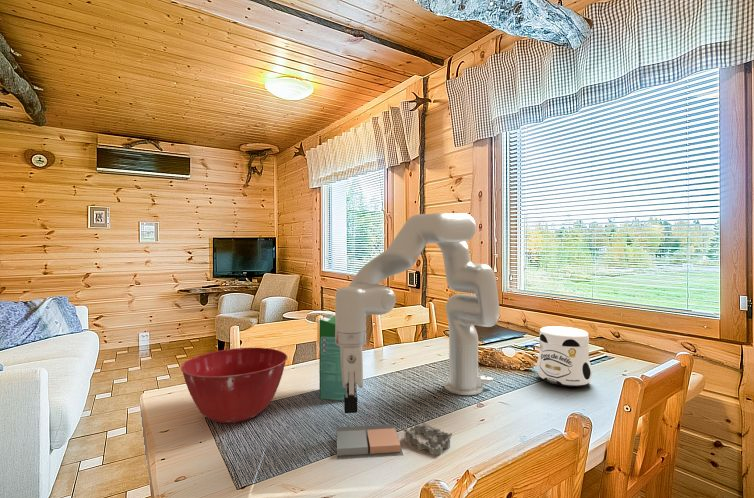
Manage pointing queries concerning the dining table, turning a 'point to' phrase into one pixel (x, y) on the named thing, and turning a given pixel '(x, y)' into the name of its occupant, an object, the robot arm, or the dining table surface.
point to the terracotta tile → (383, 441)
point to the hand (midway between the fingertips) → (350, 411)
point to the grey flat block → (351, 442)
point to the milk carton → (329, 361)
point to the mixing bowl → (234, 382)
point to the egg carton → (431, 434)
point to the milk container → (564, 356)
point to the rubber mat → (369, 427)
